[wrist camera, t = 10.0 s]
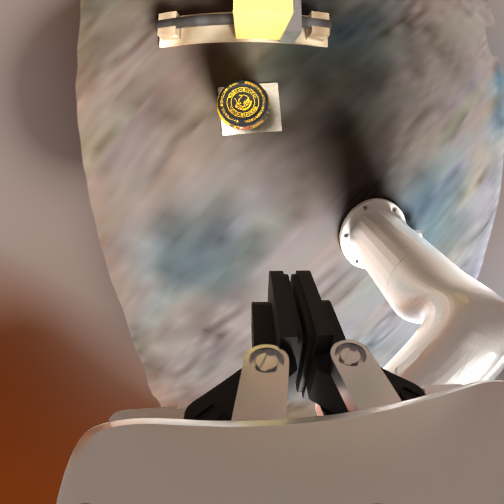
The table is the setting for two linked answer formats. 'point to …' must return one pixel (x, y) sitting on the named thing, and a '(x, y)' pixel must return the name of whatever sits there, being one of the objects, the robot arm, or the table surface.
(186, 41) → the cord rig
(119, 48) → the table surface
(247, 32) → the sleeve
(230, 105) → the condiment
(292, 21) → the grey slab
